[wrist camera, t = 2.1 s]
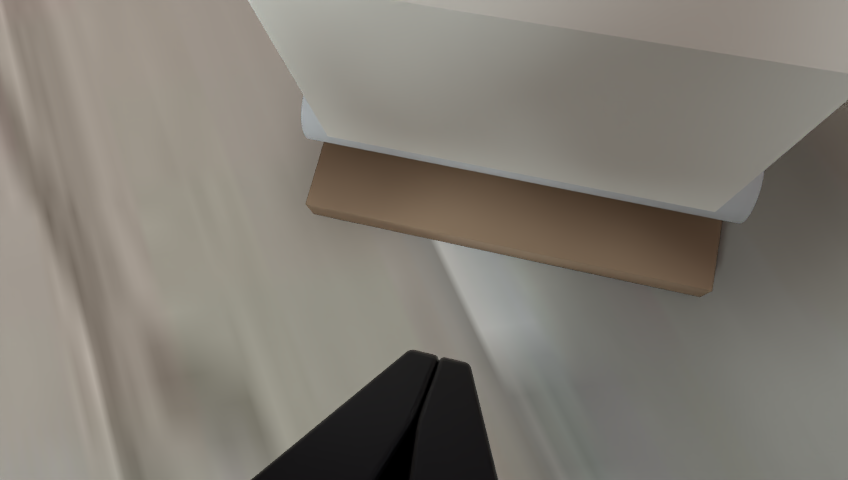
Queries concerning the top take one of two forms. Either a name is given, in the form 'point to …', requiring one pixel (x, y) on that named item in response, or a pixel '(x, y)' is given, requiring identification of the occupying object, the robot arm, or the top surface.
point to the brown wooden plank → (518, 218)
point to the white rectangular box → (573, 88)
